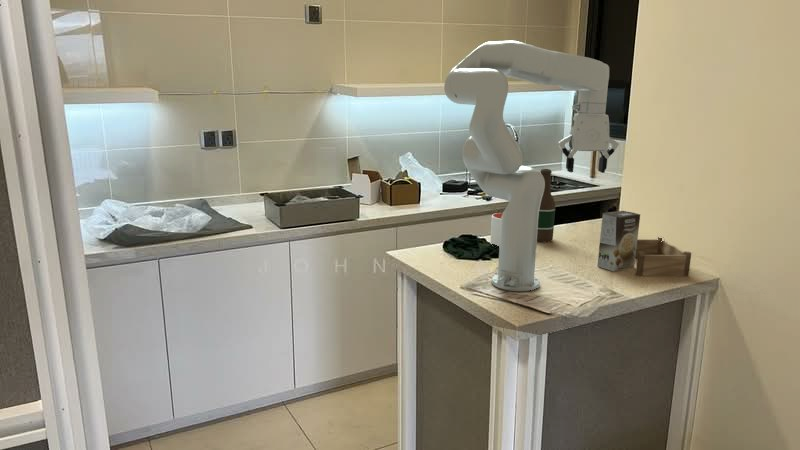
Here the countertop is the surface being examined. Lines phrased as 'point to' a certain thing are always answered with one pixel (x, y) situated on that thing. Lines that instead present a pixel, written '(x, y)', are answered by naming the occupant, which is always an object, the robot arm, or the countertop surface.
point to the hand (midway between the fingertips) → (585, 171)
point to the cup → (496, 228)
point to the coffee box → (618, 240)
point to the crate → (661, 259)
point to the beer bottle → (546, 210)
